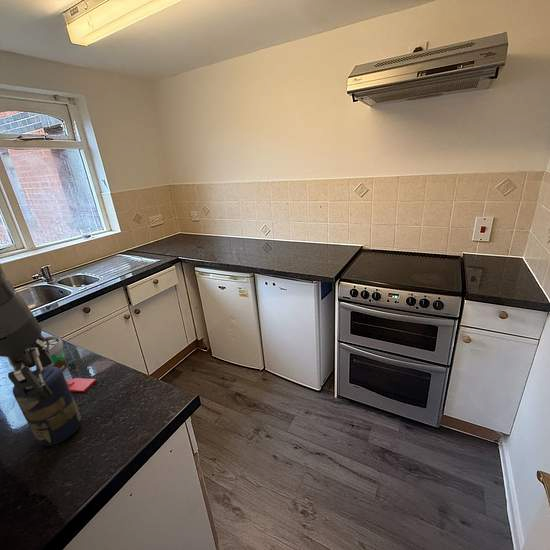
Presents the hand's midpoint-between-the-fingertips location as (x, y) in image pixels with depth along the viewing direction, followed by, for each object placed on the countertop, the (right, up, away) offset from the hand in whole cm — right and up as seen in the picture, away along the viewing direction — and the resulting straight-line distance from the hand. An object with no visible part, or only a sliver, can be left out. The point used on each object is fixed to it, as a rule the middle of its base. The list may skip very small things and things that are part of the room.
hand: (46, 380), depth 58 cm
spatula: (-21, -13, +34) cm, 42 cm away
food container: (-29, -11, +44) cm, 54 cm away
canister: (-9, -19, +17) cm, 27 cm away
